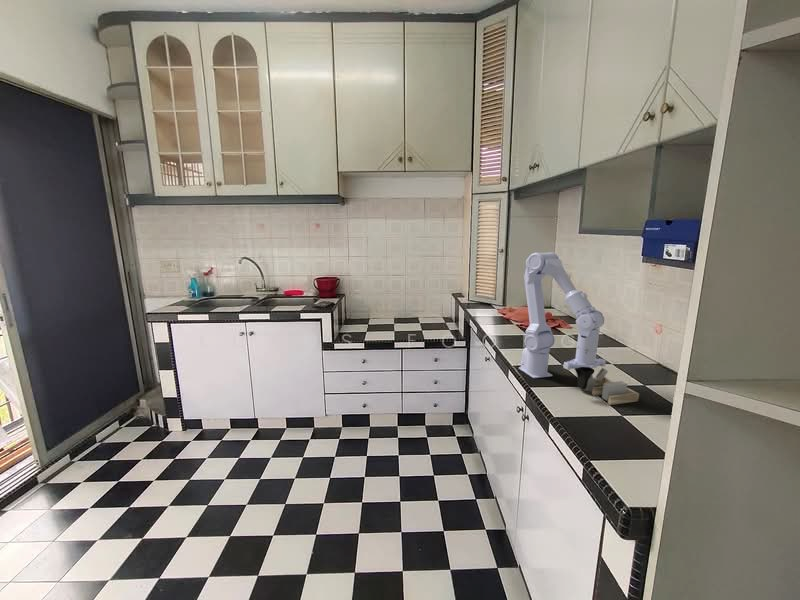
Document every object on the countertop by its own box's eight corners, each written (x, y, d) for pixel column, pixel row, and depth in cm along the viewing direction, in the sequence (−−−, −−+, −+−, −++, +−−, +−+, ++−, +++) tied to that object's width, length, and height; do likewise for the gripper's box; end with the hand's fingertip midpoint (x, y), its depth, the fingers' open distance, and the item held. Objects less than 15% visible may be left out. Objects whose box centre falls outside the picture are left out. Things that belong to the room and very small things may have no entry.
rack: (577, 386, 117) (578, 379, 117) (603, 383, 120) (604, 376, 120) (609, 405, 105) (610, 397, 104) (637, 401, 108) (639, 393, 107)
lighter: (580, 389, 114) (584, 367, 113) (579, 387, 116) (583, 365, 114) (604, 393, 113) (608, 369, 111) (602, 390, 115) (606, 368, 113)
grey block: (601, 397, 109) (603, 383, 108) (619, 395, 111) (621, 381, 110) (606, 400, 108) (609, 386, 107) (624, 398, 109) (627, 383, 108)
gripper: (576, 354, 105) (571, 395, 108) (615, 350, 109) (609, 391, 111) (560, 346, 112) (556, 386, 114) (597, 343, 115) (592, 381, 118)
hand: (581, 388), depth 113 cm, fingers closed, pressing on lighter
